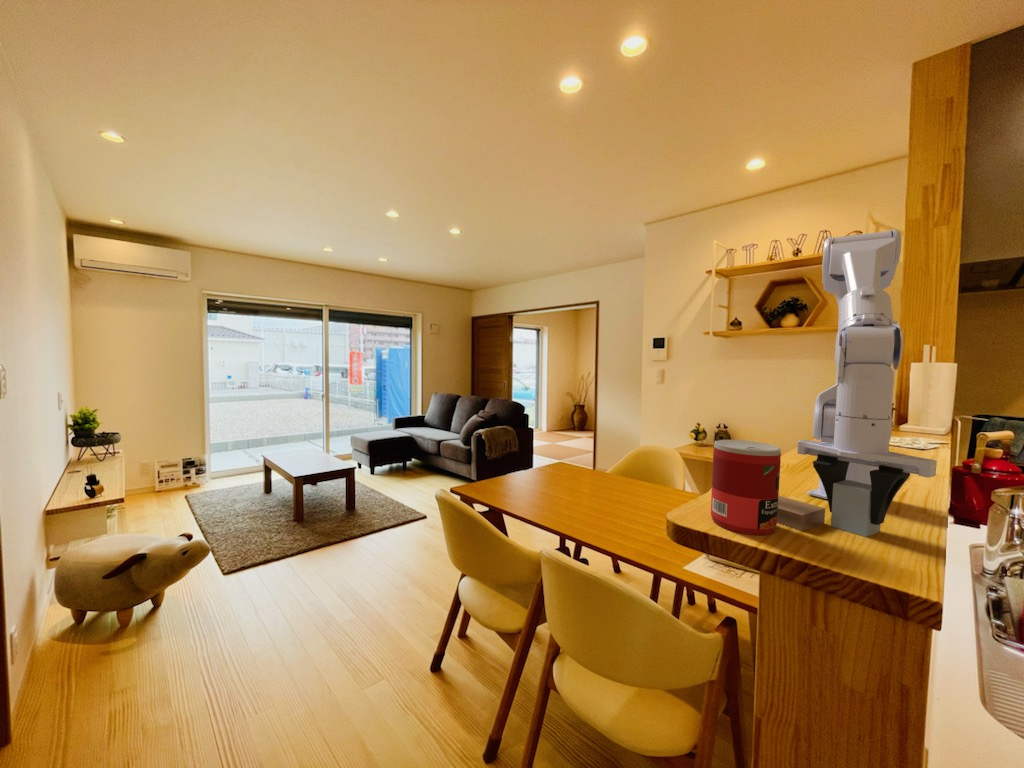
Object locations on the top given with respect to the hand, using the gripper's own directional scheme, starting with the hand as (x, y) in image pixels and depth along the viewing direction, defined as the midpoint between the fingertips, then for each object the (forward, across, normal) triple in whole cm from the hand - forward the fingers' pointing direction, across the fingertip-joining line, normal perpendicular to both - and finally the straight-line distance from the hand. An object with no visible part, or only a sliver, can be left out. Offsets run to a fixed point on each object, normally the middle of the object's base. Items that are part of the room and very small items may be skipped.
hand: (855, 517), depth 57 cm
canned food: (+2, -8, -12) cm, 15 cm away
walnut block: (+2, -6, -4) cm, 8 cm away
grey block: (+2, 0, 0) cm, 2 cm away
